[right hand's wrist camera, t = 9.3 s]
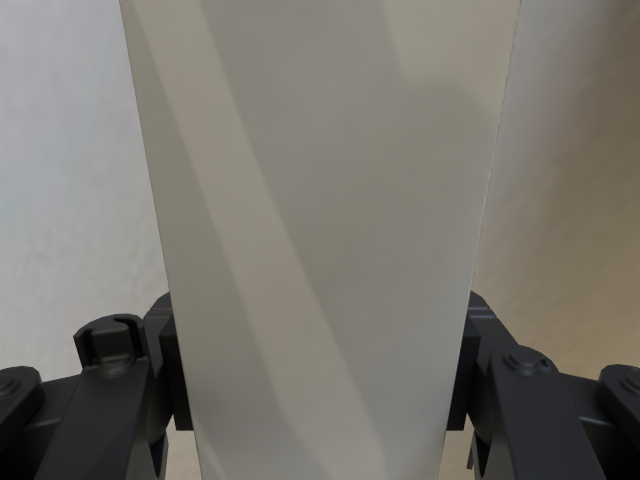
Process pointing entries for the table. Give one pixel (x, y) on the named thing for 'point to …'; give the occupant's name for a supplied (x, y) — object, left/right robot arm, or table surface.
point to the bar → (320, 219)
